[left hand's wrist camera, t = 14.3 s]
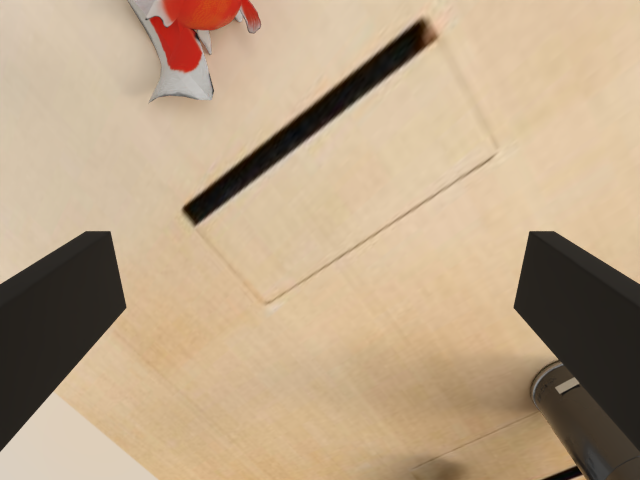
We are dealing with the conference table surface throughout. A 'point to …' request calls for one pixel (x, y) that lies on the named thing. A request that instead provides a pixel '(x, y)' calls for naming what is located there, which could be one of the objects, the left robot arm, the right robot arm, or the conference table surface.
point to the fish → (188, 39)
